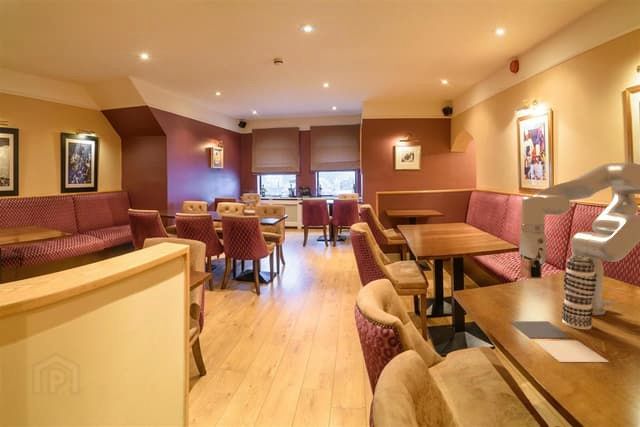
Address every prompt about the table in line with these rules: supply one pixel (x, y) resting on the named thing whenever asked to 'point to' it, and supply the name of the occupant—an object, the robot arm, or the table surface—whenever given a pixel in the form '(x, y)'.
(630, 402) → the table surface
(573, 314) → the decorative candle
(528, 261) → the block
